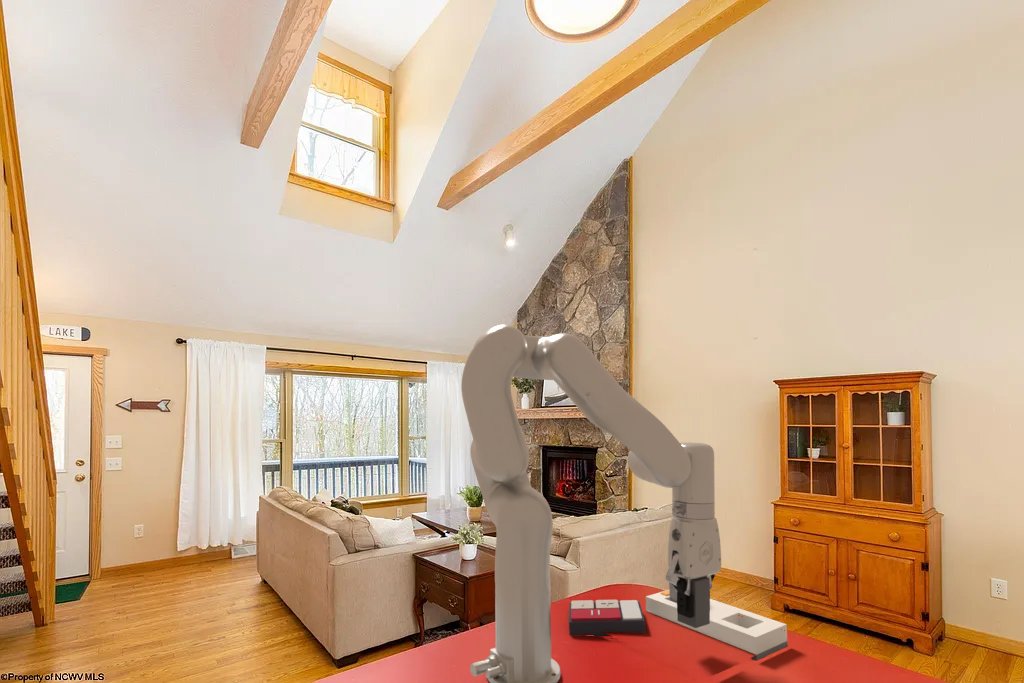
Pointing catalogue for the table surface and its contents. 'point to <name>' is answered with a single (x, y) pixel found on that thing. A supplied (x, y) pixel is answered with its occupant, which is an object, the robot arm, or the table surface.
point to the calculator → (605, 617)
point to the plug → (699, 603)
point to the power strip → (728, 625)
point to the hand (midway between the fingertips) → (693, 611)
